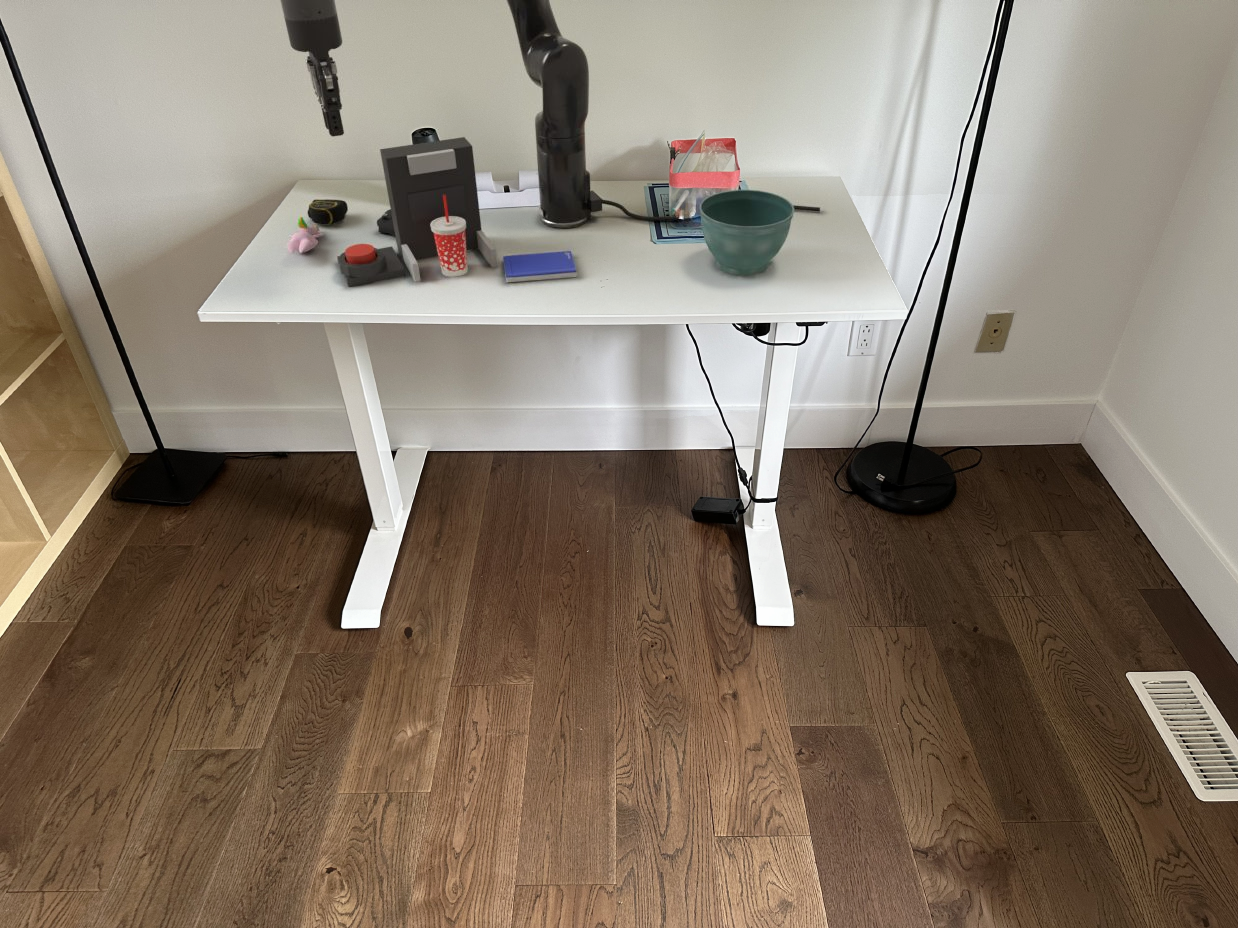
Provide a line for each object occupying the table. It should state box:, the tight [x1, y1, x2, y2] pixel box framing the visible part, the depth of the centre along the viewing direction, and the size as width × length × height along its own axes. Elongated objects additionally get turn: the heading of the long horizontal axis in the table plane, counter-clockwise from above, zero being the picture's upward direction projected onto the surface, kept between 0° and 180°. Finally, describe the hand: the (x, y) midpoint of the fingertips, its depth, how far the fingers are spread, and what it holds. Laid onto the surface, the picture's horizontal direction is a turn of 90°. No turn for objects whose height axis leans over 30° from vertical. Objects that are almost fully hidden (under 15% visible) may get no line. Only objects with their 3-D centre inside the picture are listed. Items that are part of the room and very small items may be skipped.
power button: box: [344, 243, 376, 264], centre depth 151 cm, size 5×5×2 cm
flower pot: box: [699, 189, 795, 276], centre depth 153 cm, size 16×16×11 cm
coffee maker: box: [379, 136, 498, 283], centre depth 153 cm, size 15×14×19 cm
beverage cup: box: [430, 194, 469, 278], centre depth 150 cm, size 6×6×14 cm
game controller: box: [376, 208, 396, 237], centre depth 168 cm, size 10×5×6 cm
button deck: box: [336, 246, 406, 288], centre depth 154 cm, size 10×10×4 cm
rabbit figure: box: [286, 216, 324, 255], centre depth 160 cm, size 6×6×15 cm
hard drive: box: [502, 250, 578, 283], centre depth 154 cm, size 2×8×12 cm
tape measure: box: [307, 199, 349, 226], centre depth 171 cm, size 7×7×4 cm
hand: (335, 131), depth 138 cm, fingers open, 3 cm apart
